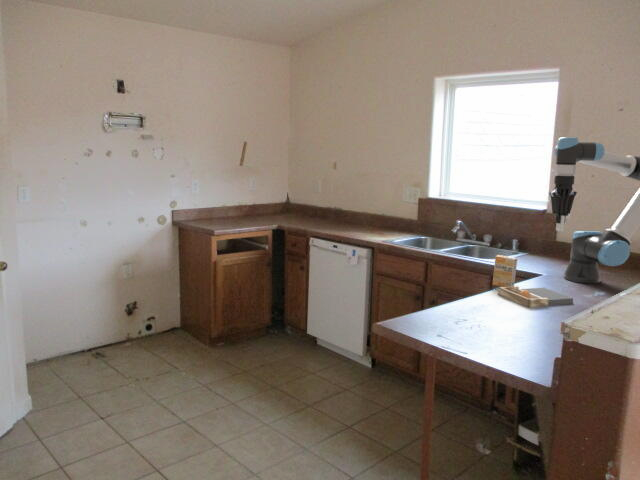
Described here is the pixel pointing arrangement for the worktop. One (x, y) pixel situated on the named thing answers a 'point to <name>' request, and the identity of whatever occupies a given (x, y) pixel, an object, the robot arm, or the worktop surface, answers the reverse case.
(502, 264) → the supplement box
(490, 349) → the worktop surface
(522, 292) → the ball
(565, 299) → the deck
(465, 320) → the worktop surface
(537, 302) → the wooden tray frame
